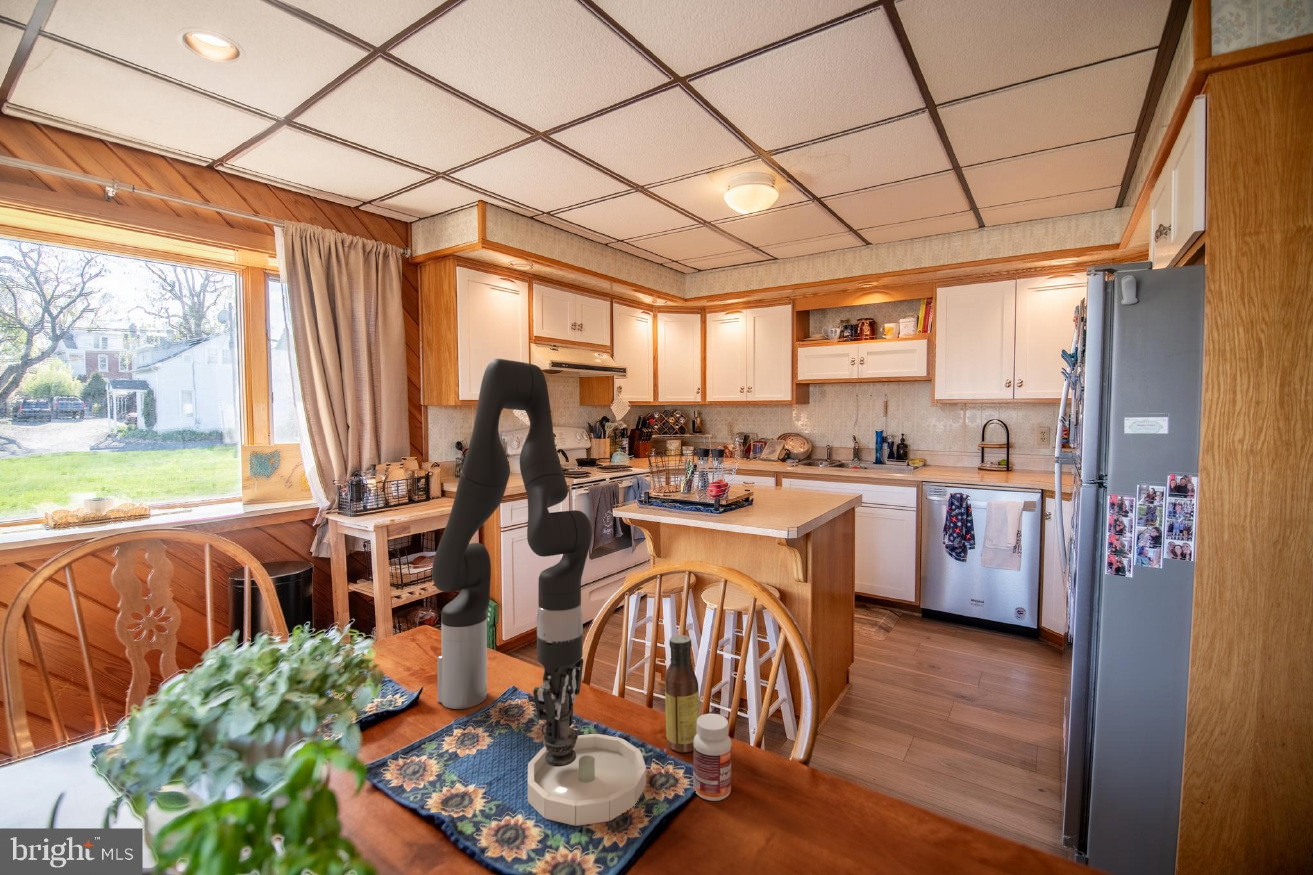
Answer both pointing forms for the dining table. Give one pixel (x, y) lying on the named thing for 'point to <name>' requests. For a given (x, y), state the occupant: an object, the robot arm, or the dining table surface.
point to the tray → (588, 781)
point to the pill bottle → (712, 758)
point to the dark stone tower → (562, 739)
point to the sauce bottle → (681, 696)
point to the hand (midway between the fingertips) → (559, 731)
